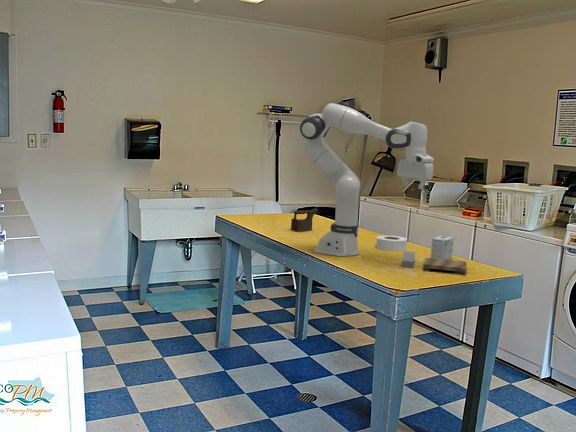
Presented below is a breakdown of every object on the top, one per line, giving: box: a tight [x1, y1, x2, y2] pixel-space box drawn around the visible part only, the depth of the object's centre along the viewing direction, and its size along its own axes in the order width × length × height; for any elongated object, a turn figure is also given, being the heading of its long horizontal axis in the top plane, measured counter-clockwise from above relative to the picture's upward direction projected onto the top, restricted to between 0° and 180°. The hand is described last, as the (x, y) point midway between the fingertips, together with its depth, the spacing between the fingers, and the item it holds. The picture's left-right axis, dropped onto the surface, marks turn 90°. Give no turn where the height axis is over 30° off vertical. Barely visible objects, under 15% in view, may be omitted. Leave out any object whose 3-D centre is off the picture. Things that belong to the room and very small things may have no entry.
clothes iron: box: [290, 207, 319, 233], centre depth 322 cm, size 8×16×13 cm, turn 121°
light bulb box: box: [430, 235, 455, 260], centre depth 258 cm, size 11×7×11 cm, turn 141°
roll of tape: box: [375, 235, 408, 252], centre depth 281 cm, size 16×16×6 cm
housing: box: [401, 250, 416, 269], centre depth 242 cm, size 5×8×6 cm, turn 163°
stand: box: [423, 257, 468, 276], centre depth 238 cm, size 18×14×3 cm
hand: (413, 188), depth 244 cm, fingers open, 8 cm apart
